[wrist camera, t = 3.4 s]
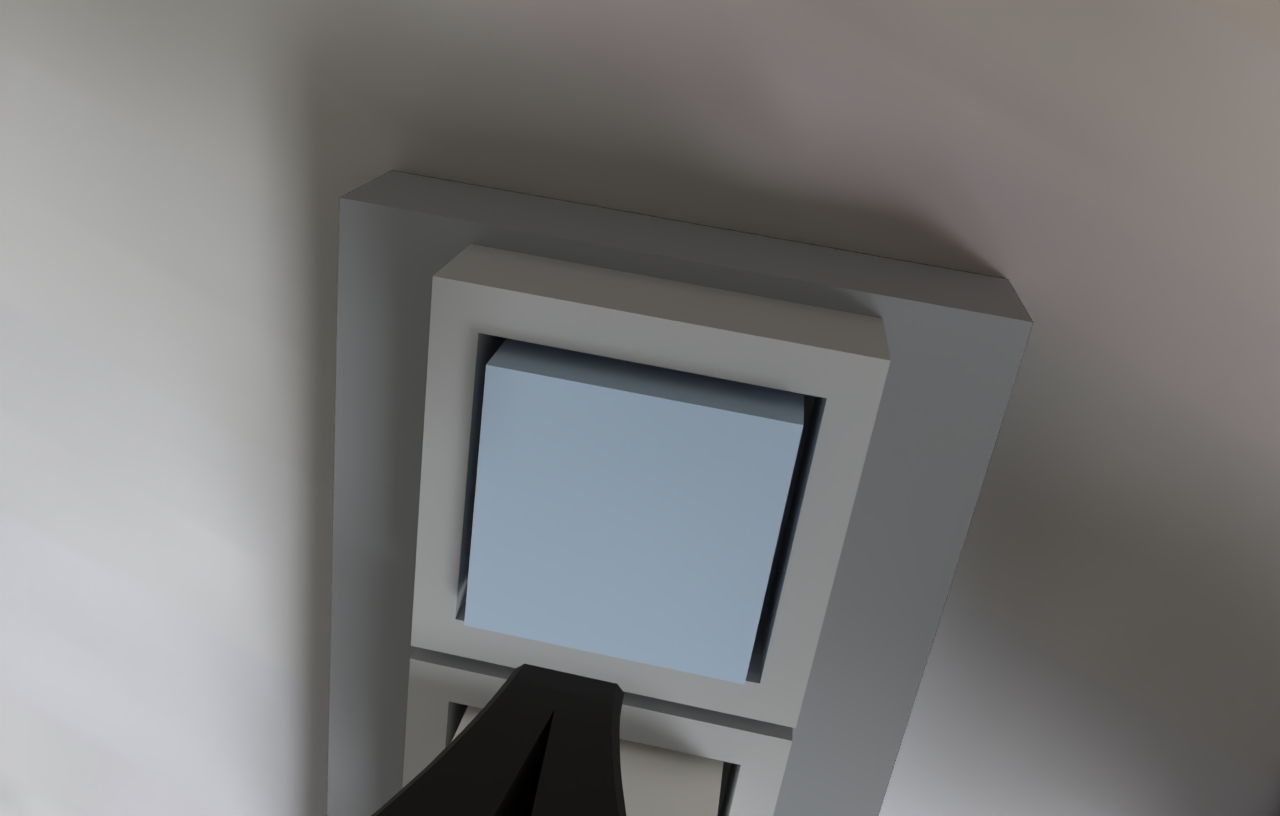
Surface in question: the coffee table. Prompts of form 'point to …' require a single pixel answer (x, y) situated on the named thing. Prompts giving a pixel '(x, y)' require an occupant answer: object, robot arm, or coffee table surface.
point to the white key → (659, 779)
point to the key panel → (680, 340)
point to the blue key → (628, 507)
